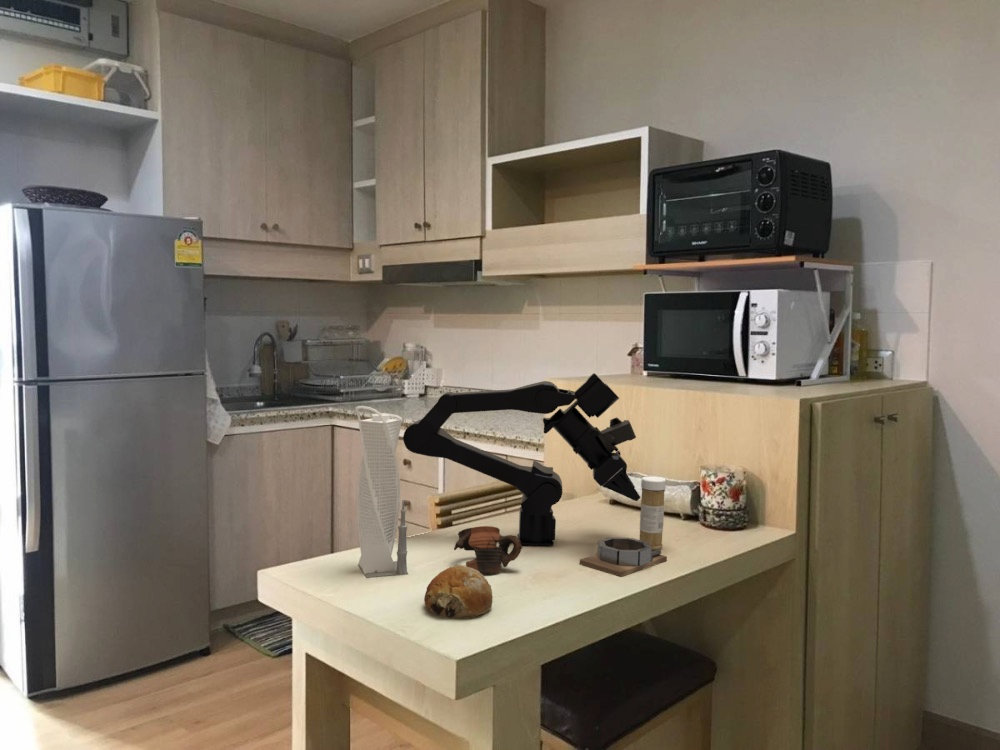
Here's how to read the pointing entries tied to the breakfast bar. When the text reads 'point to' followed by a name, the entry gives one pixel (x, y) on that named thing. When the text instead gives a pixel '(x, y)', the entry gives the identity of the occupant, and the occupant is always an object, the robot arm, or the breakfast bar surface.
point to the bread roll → (459, 593)
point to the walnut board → (616, 569)
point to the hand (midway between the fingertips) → (635, 493)
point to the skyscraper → (380, 497)
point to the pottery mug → (488, 548)
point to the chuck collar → (625, 551)
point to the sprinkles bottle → (652, 511)
